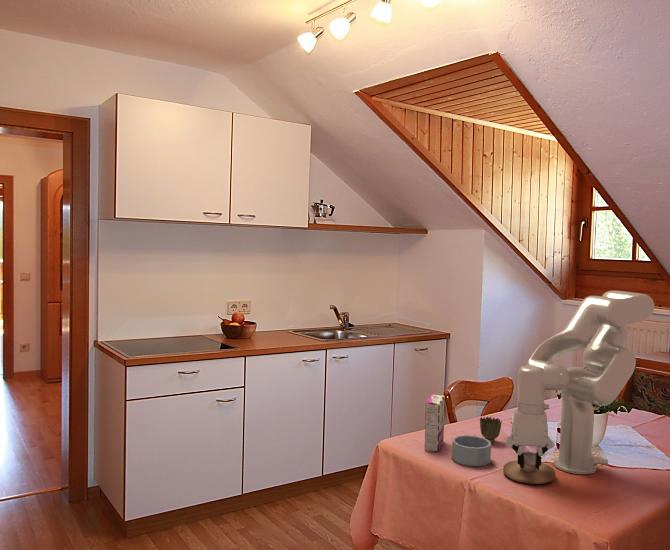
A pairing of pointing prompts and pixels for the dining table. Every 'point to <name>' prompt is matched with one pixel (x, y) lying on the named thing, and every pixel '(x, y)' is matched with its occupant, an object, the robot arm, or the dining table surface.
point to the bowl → (471, 450)
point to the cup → (490, 428)
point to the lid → (529, 470)
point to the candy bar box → (434, 422)
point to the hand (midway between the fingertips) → (529, 466)
